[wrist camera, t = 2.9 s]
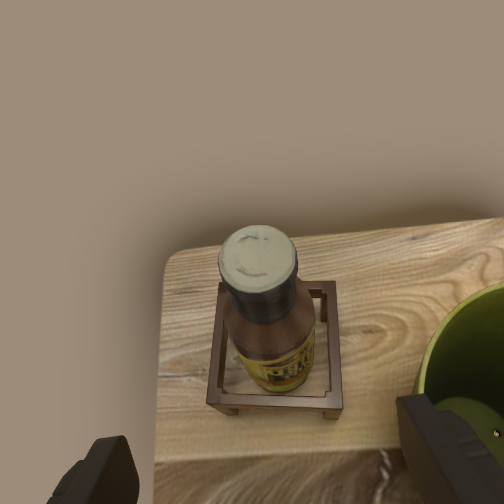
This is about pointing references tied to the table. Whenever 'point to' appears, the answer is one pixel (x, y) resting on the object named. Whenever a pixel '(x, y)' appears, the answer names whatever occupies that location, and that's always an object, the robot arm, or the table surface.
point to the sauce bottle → (267, 307)
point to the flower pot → (470, 366)
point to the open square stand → (232, 402)
